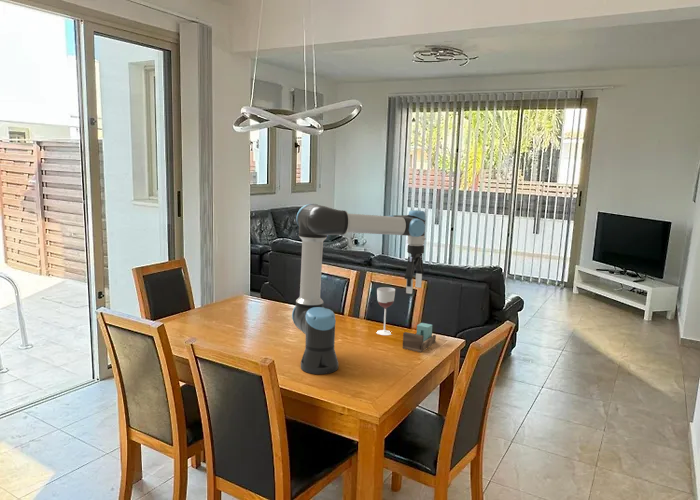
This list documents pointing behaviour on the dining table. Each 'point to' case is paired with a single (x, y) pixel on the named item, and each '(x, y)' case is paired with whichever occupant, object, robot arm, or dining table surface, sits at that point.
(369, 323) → the dining table surface
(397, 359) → the dining table surface
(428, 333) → the block
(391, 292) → the wineglass
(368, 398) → the dining table surface
